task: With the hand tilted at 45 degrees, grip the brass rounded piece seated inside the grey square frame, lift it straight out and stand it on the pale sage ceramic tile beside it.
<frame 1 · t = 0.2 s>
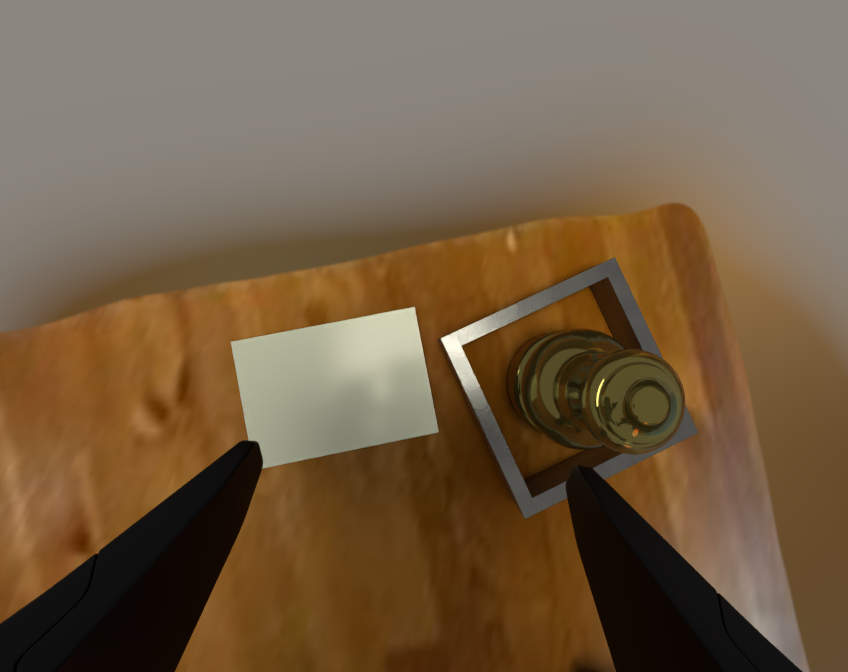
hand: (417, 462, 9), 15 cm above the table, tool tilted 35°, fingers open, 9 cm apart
tile: (338, 385, 24), on the table
brass rounded piece: (553, 381, 25), resting in grey square frame
grey square frame: (554, 381, 24), on the table
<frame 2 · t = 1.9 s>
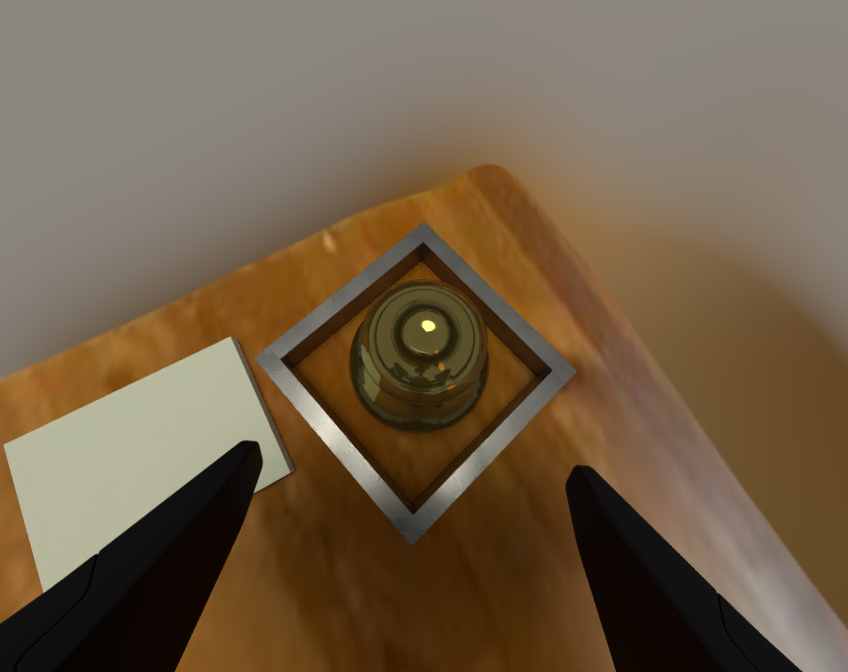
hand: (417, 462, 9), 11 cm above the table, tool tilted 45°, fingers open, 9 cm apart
tile: (158, 457, 19), on the table
brass rounded piece: (417, 371, 22), resting in grey square frame
grey square frame: (417, 370, 21), on the table
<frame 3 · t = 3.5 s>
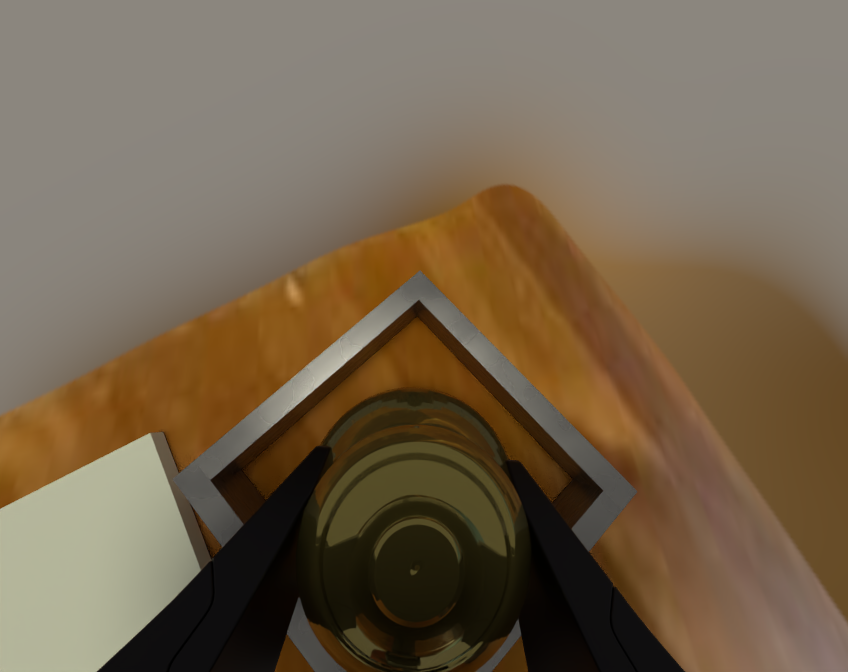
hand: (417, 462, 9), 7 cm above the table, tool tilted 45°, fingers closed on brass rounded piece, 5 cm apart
tile: (43, 611, 14), on the table
brass rounded piece: (410, 473, 16), resting in grey square frame, touching gripper
grey square frame: (410, 474, 16), on the table
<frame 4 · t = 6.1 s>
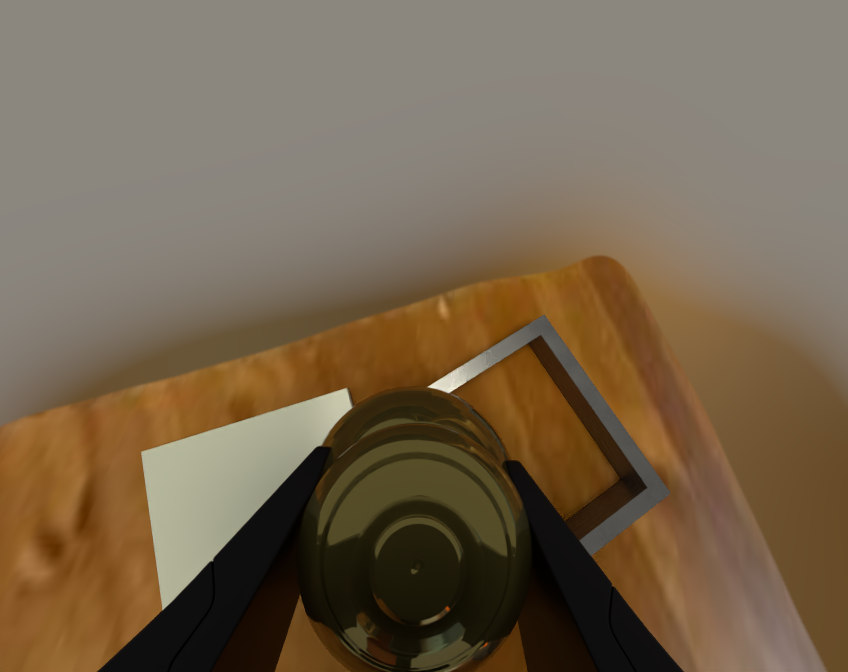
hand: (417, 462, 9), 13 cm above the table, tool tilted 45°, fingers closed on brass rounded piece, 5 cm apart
tile: (267, 487, 21), on the table
brass rounded piece: (412, 472, 16), point 6 cm above the table, touching gripper
grey square frame: (509, 452, 22), on the table
when the fingers open (8 cm above the table, at t = 8.5 s): brass rounded piece stays where it is, resting on tile.
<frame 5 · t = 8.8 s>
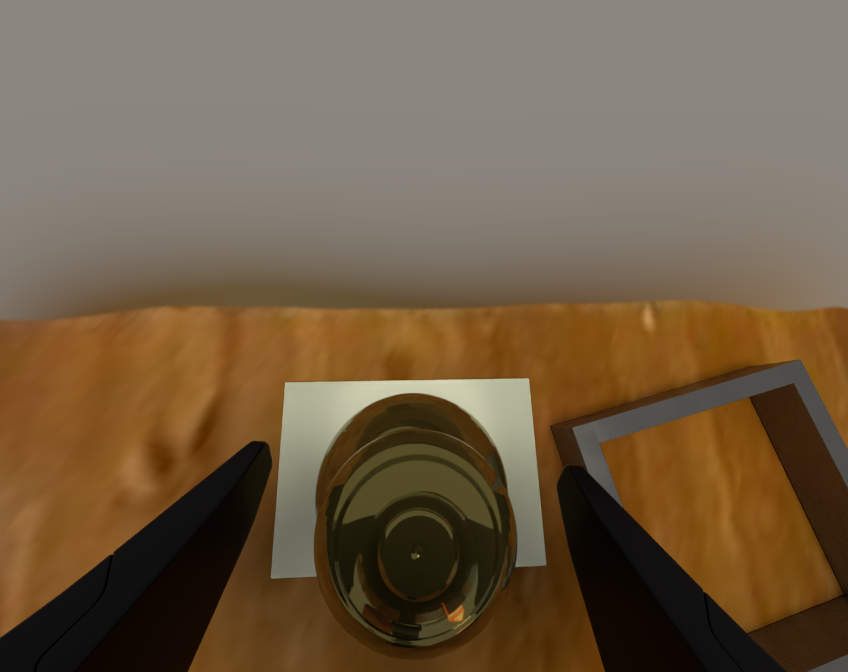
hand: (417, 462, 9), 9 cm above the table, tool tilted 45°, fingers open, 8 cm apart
tile: (410, 467, 17), on the table
brass rounded piece: (411, 472, 17), point 1 cm above the table, touching tile
grey square frame: (704, 514, 18), on the table
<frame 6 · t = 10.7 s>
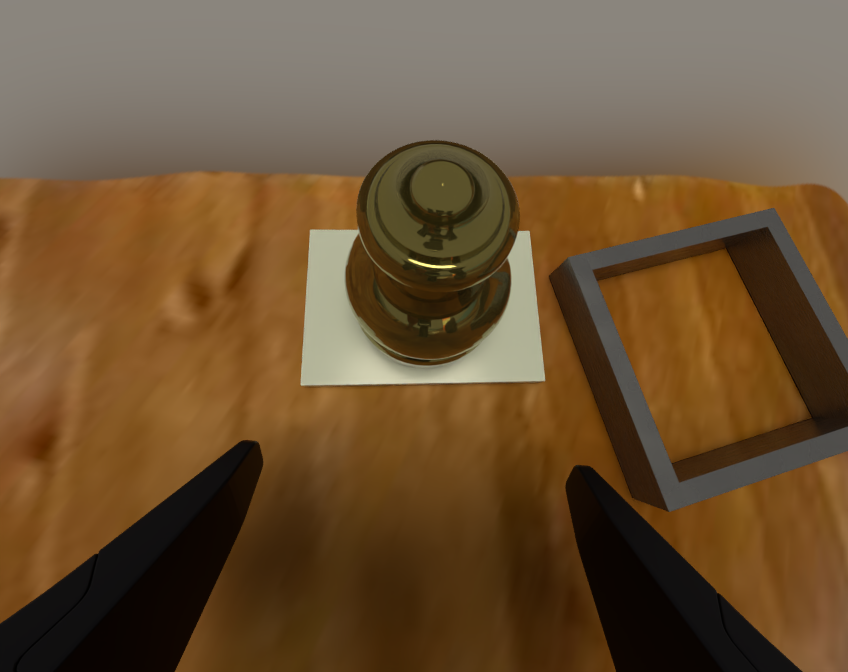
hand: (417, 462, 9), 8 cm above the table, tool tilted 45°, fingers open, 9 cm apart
tile: (422, 307, 19), on the table
brass rounded piece: (424, 305, 19), point 1 cm above the table, touching tile
grey square frame: (688, 350, 20), on the table
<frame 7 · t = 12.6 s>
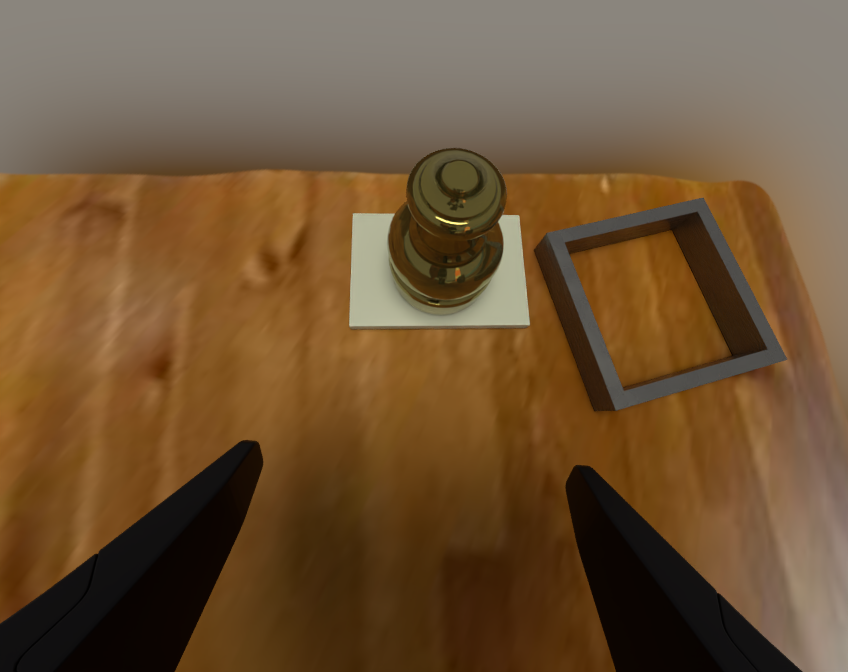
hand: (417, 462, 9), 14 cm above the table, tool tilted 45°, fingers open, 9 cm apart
tile: (437, 272, 26), on the table
brass rounded piece: (439, 270, 25), point 1 cm above the table, touching tile
grey square frame: (639, 305, 26), on the table
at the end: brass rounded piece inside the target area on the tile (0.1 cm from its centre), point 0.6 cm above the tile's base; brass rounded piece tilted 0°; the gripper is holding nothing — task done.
